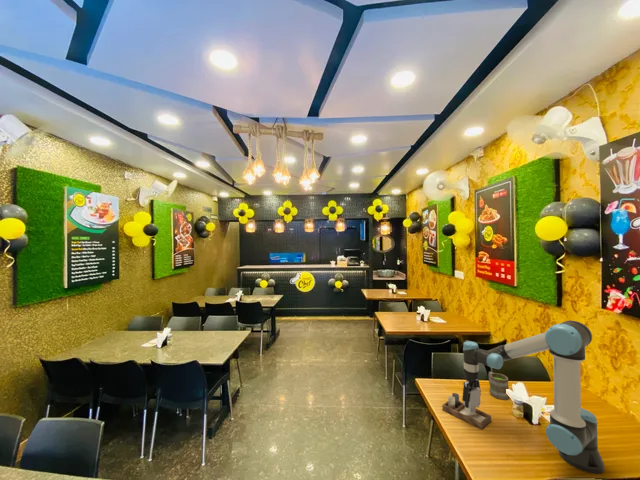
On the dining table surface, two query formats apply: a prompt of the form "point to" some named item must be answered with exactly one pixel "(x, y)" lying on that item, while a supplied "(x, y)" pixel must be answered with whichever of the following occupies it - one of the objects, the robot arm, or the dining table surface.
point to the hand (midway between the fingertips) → (472, 409)
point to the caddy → (458, 410)
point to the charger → (474, 399)
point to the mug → (498, 385)
